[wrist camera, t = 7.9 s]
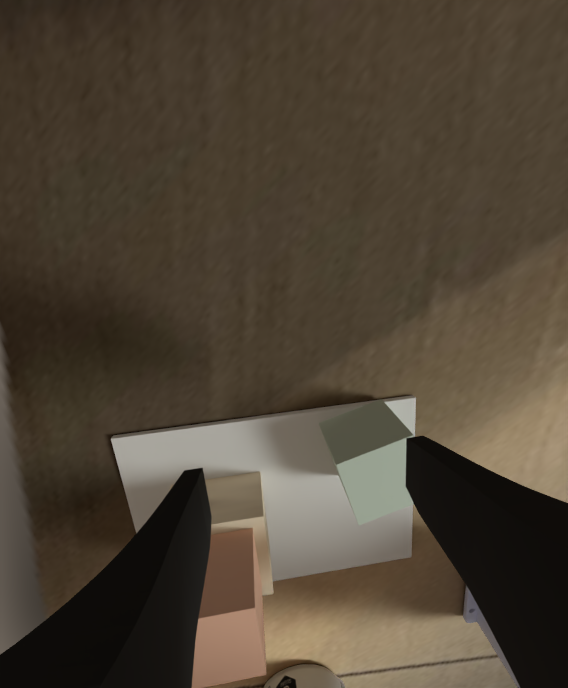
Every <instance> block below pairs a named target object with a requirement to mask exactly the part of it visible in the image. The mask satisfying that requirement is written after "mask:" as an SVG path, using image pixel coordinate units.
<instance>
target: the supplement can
mask: <svg viewBox="0 0 568 688" xmlns="http://www.w3.org/2000/svg"><path fill="white" fill-rule="evenodd" d="M264 688H345V686H344V683H343V681H342V680H341V679H339V678H338V677H337V676H336V675H335V674H334V673H332V672H331V671H330V670H329V669H327V668H325V667H322V666H319V665H316V664H301V665H296V666H292V667H288V668H286V669H284V670H282V671H280V672H278V673H276V674H275V675H274V676H273V677H272V678H270V679H269V680H268V681H267V682H266V684H265V686H264Z"/></svg>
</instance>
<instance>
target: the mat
mask: <svg viewBox="0 0 568 688" xmlns="http://www.w3.org/2000/svg"><path fill="white" fill-rule="evenodd" d="M382 400H383V401H384V402H385V403H386V405H387V406H388V407H389V408H390V409H391V410H392V411H393V412H394V414H395V415H396V416H397V417H398V418H399V419H400V420H401V421H402V423H403V424H404V425H405V426H406V427H407V428H408V429H409V430H410V432H411V433H412V434H413V435H414V437H415V410H416V397H415V396H413V395H411V396H403V397H396V398H388V399H382ZM375 401H377V400H373V401H366V402H359V403H351V404H344V405H336V406H329V407H321V408H314V409H306V410H299V411H292V412H284V413H277V414H269V415H262V416H254V417H247V418H240V419H232V420H225V421H217V422H210V423H202V424H195V425H187V426H180V427H173V428H165V429H158V430H150V431H143V432H135V433H128V434H120V435H113V436H112V438H111V442H112V445H113V449H114V453H115V456H116V460H117V464H118V467H119V471H120V475H121V479H122V482H123V486H124V490H125V493H126V497H127V501H128V504H129V508H130V512H131V515H132V519H133V523H134V527H135V530H136V533H137V532H138V531H139V530H140V529H141V527H142V526H143V525H144V524H145V523H146V521H147V520H148V519H149V518H150V516H151V515H152V514H153V512H154V511H155V510H156V508H157V507H158V506H159V505H160V503H161V502H162V501H163V499H164V498H165V496H166V495H167V494H168V492H169V490H170V487H171V485H173V484H175V482H176V481H177V480H178V478H179V477H180V475H181V474H182V473H183V472H184V470H190V469H197V468H203V472H204V478H205V480H207V479H213V478H220V477H227V476H234V475H240V474H247V473H254V472H260V473H261V480H262V488H263V496H264V504H265V512H266V519H267V527H268V535H269V544H270V556H271V568H272V580H273V581H278V580H284V579H290V578H296V577H301V576H307V575H313V574H318V573H324V572H330V571H335V570H341V569H347V568H353V567H358V566H364V565H370V564H375V563H381V562H387V561H392V560H398V559H404V558H410V557H411V556H412V520H413V505H411V506H408V507H405V508H403V509H400V510H398V511H395V512H392V513H390V514H387V515H385V516H382V517H380V518H377V519H374V520H372V521H369V522H367V523H364V524H362V525H358V522H357V520H356V517H355V515H354V512H353V510H352V507H351V505H350V503H349V500H348V498H347V495H346V493H345V490H344V488H343V485H342V483H341V481H340V478H339V476H338V473H337V470H336V468H335V465H334V462H333V460H332V457H331V455H330V452H329V449H328V447H327V444H326V441H325V439H324V436H323V433H322V431H321V428H320V425H319V423H320V422H323V421H325V420H328V419H331V418H333V417H336V416H338V415H341V414H344V413H346V412H349V411H351V410H354V409H357V408H359V407H362V406H364V405H367V404H369V403H372V402H375Z"/></svg>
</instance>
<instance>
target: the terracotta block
mask: <svg viewBox="0 0 568 688" xmlns="http://www.w3.org/2000/svg"><path fill="white" fill-rule="evenodd" d="M263 675H267V673H266V654H265V635H264V616H263V597H262V583H261V577H260V571H259V565H258V558H257V552H256V546H255V540H254V534H253V528H249V529H243V530H238V531H232V532H226V533H220V534H214V535H211V542H210V552H209V558H208V564H207V570H206V576H205V582H204V588H203V594H202V600H201V606H200V612H199V618H198V625H197V633H196V640H195V652H194V664H193V677H192V688H205V687H210V686H215V685H220V684H224V683H229V682H234V681H239V680H244V679H249V678H253V677H258V676H263Z"/></svg>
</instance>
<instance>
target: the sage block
mask: <svg viewBox="0 0 568 688" xmlns="http://www.w3.org/2000/svg"><path fill="white" fill-rule="evenodd" d="M319 425H320V428H321V431H322V433H323V436H324V439H325V441H326V444H327V447H328V449H329V452H330V455H331V457H332V460H333V462H334V465H335V468H336V470H337V473H338V476H339V478H340V481H341V483H342V485H343V488H344V490H345V493H346V495H347V498H348V500H349V503H350V505H351V507H352V510H353V512H354V515H355V517H356V520H357V522H358V525H362V524H364V523H367V522H369V521H372V520H374V519H377V518H380V517H382V516H385V515H387V514H390V513H392V512H395V511H398V510H400V509H403V508H405V507H408V506H411V505H413V504H414V503H413V501H412V499H411V496H410V494H409V492H408V490H407V488H406V438H411V437H414V435H413V434H412V433H411V432H410V430H409V429H408V428H407V427H406V426H405V425H404V424H403V423H402V421H401V420H400V419H399V418H398V417H397V416H396V415H395V414H394V412H393V411H392V410H391V409H390V408H389V407H388V406H387V405H386V403H385V402H384V401H383V400H382V399H380V400H377V401H375V402H372V403H369V404H367V405H364V406H362V407H359V408H357V409H354V410H351V411H349V412H346V413H344V414H341V415H338V416H336V417H333V418H331V419H328V420H325V421H323V422H320V423H319Z"/></svg>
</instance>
